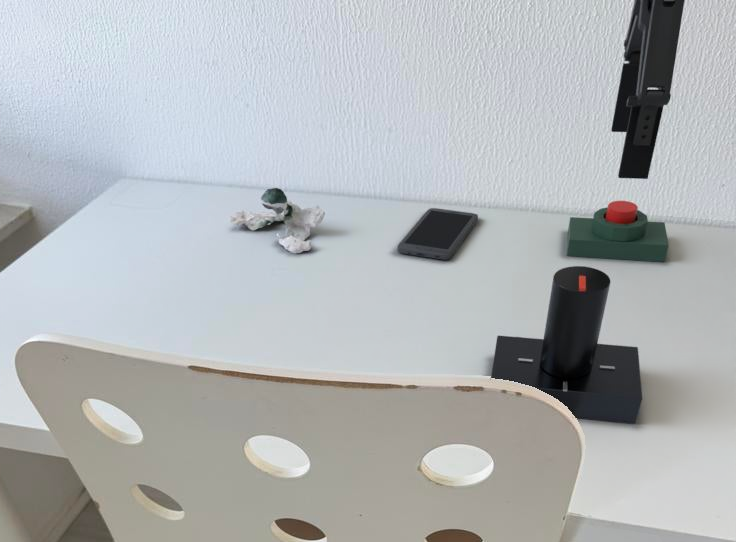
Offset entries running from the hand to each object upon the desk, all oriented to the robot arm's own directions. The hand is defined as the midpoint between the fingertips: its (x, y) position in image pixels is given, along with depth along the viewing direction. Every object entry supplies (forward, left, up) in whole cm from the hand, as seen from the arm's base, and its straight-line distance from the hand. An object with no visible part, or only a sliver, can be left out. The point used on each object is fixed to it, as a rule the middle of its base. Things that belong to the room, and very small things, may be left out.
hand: (628, 153), depth 79 cm
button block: (-2, -14, -16) cm, 21 cm away
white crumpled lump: (+43, -12, -16) cm, 47 cm away
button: (-2, -14, -13) cm, 19 cm away
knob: (+4, +20, -13) cm, 24 cm away
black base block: (+4, +20, -16) cm, 26 cm away
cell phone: (+21, -14, -16) cm, 30 cm away
